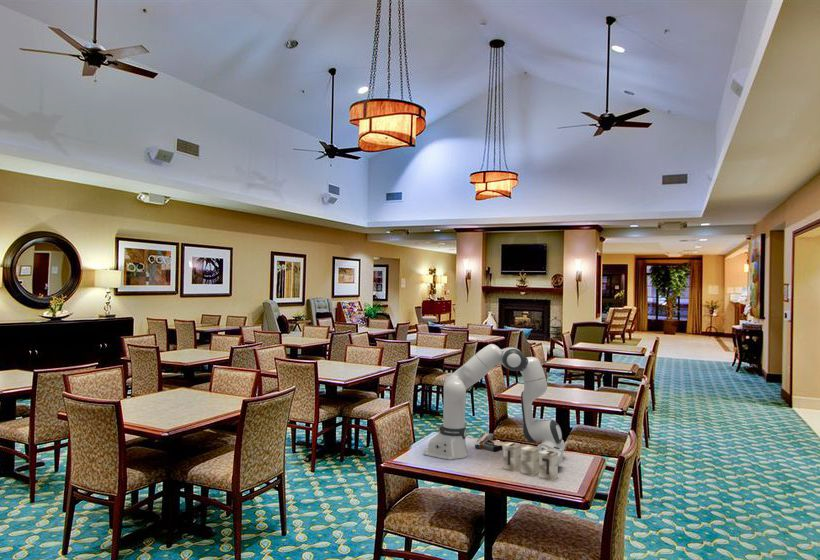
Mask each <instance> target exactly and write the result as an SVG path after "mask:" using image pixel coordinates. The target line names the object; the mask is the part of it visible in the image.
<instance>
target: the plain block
mask: <svg viewBox="0 0 820 560" xmlns="http://www.w3.org/2000/svg"><path fill="white" fill-rule="evenodd" d="M523 447H524V448H522V447H521V469H520V474H523V475H526V476H530V477H534V476H536V475H537V474H538V475H539V448H536V447H535V446H529V445H526V446H523Z"/></svg>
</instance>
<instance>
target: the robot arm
mask: <svg viewBox="0 0 820 560" xmlns="http://www.w3.org/2000/svg"><path fill="white" fill-rule="evenodd" d="M498 365H503V367H504V368H506V369H507V370H509V371H513V372H520V374H521V375H522V381H523V385H524V387H523V390H522V392H521V394H520V403H521V413H522V414H521V416H522V423H523V424H522V425H523V426H522V427H523V428H522V432H523V434H522V435H523V437H524V438H525V440H527V442H529V443H539V442H541V443H539V444H538V445H537V446H536V447H535V448H539V453H540V452H542V451H544V450H549V451H554V452H558V466H559V465H560V464H562V463H563V459H564V455H563V454H564V451H565V449H566V443H565V441H564V440H563V431H562V428H561V426H560V424H559V423H557V421H556V420H554V419H550V420H540V421H535V420H534V417H533V416H534V415H533V409H532V408H533V407H532V405H533V402H534V401H536V400H537V399H538V398H540V397H542V396H543V395H545V393H546V392H547V389H548V381H547V377H546V373H545V371H544V369H543V366H542V363H541V362H540V360H539V358H537V357H536V356H527V357H526V355H524V354H523V353H522V351H521V350H520V349H518V348H516V347H512V346H508V347H503V348H500V347H499V346H498V345H496V344H494V343H490V344H488V345H486V346H484V347H483V348H482V349H479V351H477V352H476V353H475V354H473V356H472V357H470V358H469V359H468V360H467V361H466V362H465V363H464V364H462V365H461V366H460V367H459V368H457V369H456V370H455V371H453V372H452V373H451V374H450V375H449V376H448V377H446V378H445V380H444V382H443V407H442V410H443V412H442V413H443V414H442V420H443V421H442V422H443V423H442V424H441V425H440V426H439V428H438V431H439V432H438V433H437V434H436V435H435V436H433V437H432V438H431V439H430V440H429V441H428V444H427V445H428V446H427V447H426V448H424V450H423V455H425V456H429V457H433V458H438V459H444V460H449V461H450V460H451V461H452V460H455V459H462V458H463V459H464V458H467V457H468V455H469V452H468V449H467V442H466V438H467V427H466V396H467V392H466V391H467V390H469V388H470V387H472V386H473V385H474V384H477V383H478V382H480V381H481V380H482V379H483V378H484V377H485V376H486V375H488V373H490V371H491V370H493V369H494V368H495V367H497V366H498ZM524 447H525V446H521V448H524Z"/></svg>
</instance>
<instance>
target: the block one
mask: <svg viewBox="0 0 820 560" xmlns="http://www.w3.org/2000/svg"><path fill="white" fill-rule="evenodd" d="M502 447H503V449H502V450H503V451H502V452H503V456H502V457H503V460H502V461H503V462H502V465H503V466H502V469H503V470H507V471H511V472H518V471H519V470H521V448H522V444H519V443H514V442H510V441H509V442H507V443H504V444H503V445H502Z"/></svg>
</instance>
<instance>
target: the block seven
mask: <svg viewBox="0 0 820 560" xmlns="http://www.w3.org/2000/svg"><path fill="white" fill-rule="evenodd" d="M558 469H559V465H558V452H554V451H549V450H544V451H542V452H540V453H539V473H538V475H539V477H538V478H540V479H543V480H546V481H551V482H553V481H555V480H556V479H557V478H558V475H559V472H558V471H559V470H558Z"/></svg>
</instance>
